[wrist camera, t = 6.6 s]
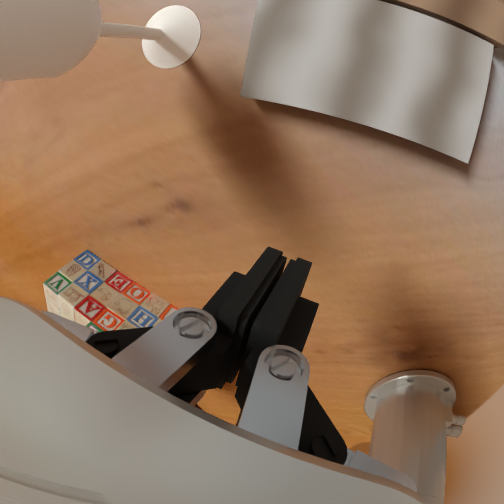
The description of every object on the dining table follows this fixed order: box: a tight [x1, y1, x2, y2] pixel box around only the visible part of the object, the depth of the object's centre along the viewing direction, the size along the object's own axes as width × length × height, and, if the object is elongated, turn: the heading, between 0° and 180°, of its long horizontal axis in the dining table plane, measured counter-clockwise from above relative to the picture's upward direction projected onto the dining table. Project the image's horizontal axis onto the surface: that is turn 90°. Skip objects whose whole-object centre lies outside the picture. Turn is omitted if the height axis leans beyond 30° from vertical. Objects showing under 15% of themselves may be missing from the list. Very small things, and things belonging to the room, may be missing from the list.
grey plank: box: [240, 0, 494, 164], centre depth 19 cm, size 18×10×2 cm, turn 81°
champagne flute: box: [0, 0, 201, 82], centre depth 14 cm, size 7×7×24 cm
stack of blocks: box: [43, 250, 178, 333], centre depth 37 cm, size 21×6×12 cm, turn 69°
